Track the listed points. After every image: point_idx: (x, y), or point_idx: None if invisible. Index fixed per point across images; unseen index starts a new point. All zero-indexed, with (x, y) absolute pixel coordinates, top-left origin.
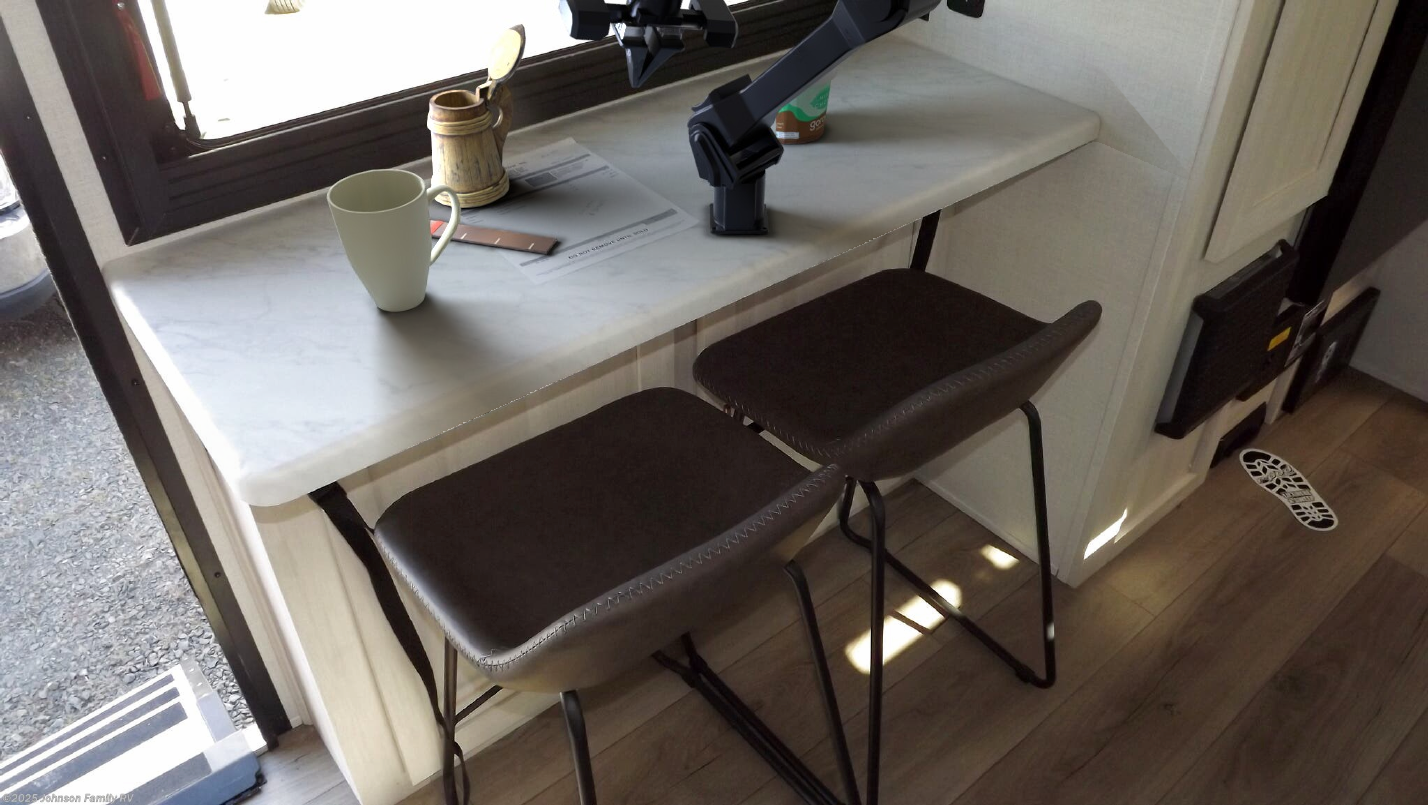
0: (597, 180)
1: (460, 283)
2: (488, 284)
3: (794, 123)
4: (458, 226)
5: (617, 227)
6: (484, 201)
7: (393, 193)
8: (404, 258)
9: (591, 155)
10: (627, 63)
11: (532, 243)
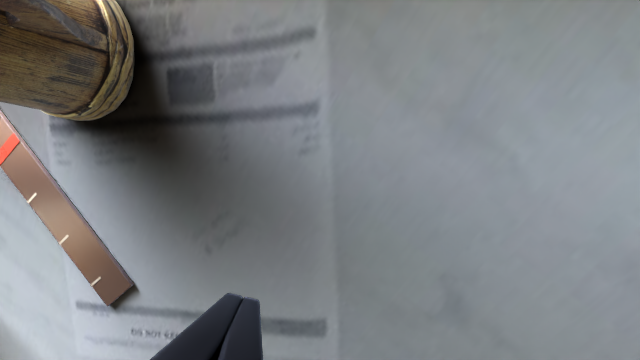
0: (272, 148)
1: (9, 291)
2: (33, 315)
3: None
4: (33, 166)
5: None
6: (79, 119)
7: None
8: None
9: (317, 38)
10: (157, 353)
11: (99, 275)
